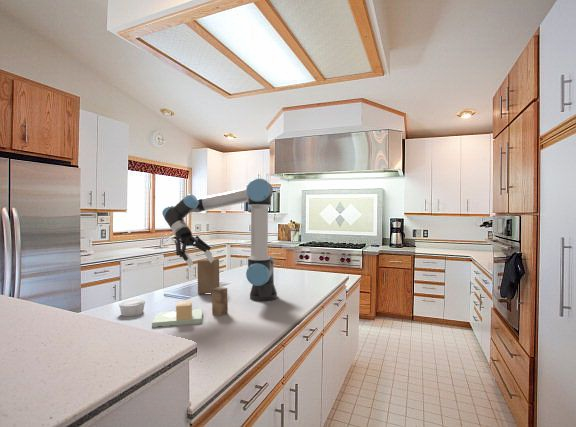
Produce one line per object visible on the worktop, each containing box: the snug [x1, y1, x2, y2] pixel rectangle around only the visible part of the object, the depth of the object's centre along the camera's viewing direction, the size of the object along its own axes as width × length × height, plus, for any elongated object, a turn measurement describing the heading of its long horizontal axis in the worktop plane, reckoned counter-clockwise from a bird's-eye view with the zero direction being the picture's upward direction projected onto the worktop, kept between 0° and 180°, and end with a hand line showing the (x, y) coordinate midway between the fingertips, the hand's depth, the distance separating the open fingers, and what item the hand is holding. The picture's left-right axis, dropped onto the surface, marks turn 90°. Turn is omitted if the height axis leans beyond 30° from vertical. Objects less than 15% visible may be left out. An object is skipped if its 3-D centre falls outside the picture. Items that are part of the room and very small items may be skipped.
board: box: [151, 308, 204, 328], centre depth 143 cm, size 20×14×2 cm
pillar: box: [211, 286, 229, 317], centre depth 151 cm, size 5×5×12 cm
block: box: [196, 257, 220, 295], centre depth 192 cm, size 10×10×20 cm
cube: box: [175, 301, 193, 320], centre depth 140 cm, size 6×6×6 cm
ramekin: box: [119, 299, 146, 317], centre depth 154 cm, size 11×11×5 cm
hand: (202, 263), depth 157 cm, fingers open, 13 cm apart
